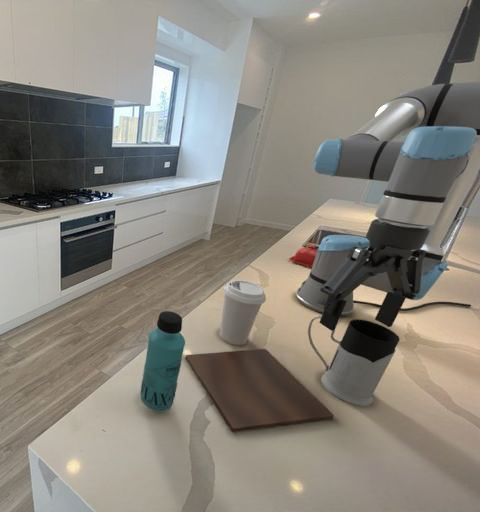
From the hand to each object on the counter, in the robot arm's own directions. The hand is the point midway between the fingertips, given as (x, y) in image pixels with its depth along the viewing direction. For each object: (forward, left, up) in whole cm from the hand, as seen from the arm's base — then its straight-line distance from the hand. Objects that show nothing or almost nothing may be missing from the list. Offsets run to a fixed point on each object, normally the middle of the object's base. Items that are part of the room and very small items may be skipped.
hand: (355, 324), depth 60 cm
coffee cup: (+13, -17, -15) cm, 26 cm away
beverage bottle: (+41, +1, -15) cm, 43 cm away
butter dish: (-52, -62, -15) cm, 82 cm away
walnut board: (+19, -1, -15) cm, 24 cm away
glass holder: (0, 0, -15) cm, 15 cm away
